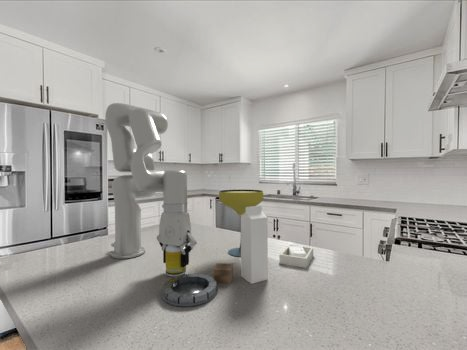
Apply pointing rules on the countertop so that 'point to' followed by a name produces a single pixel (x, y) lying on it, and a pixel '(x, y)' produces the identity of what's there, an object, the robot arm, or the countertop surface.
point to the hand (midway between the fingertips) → (176, 263)
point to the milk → (254, 245)
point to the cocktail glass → (240, 205)
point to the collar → (189, 290)
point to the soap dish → (296, 261)
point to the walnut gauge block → (223, 273)
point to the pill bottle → (174, 261)
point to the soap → (297, 251)
